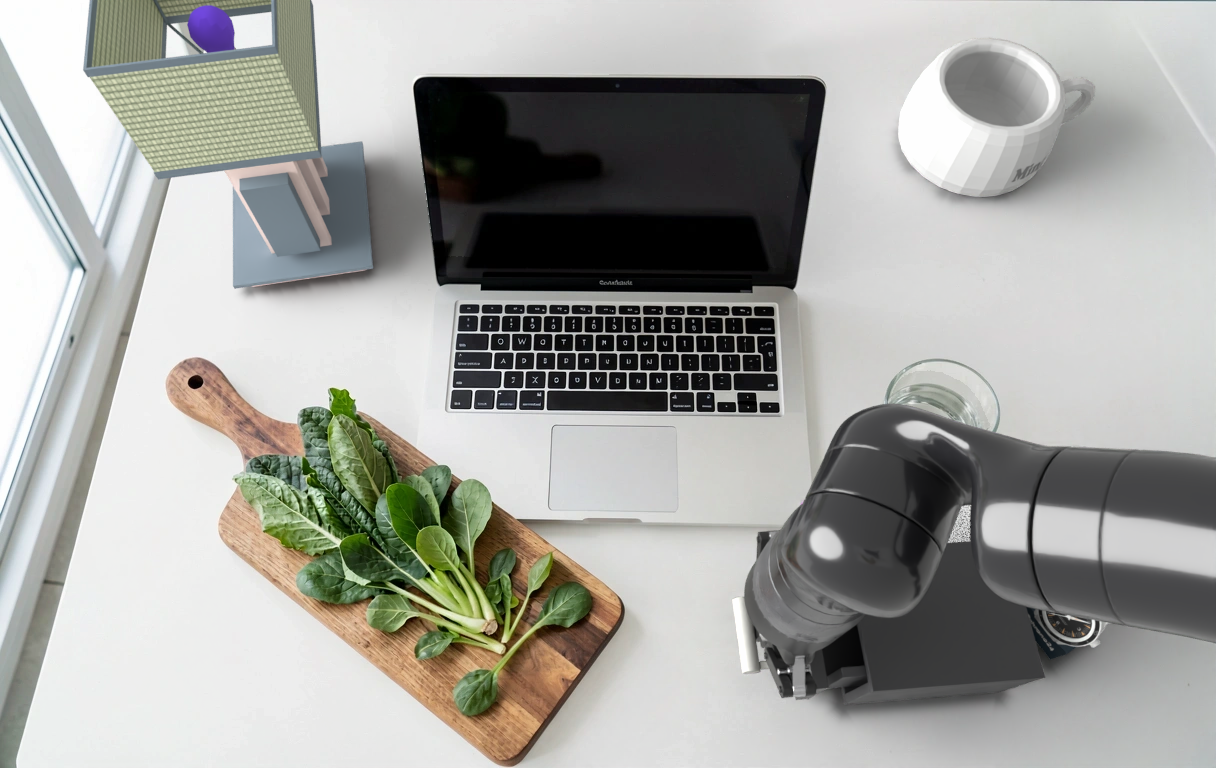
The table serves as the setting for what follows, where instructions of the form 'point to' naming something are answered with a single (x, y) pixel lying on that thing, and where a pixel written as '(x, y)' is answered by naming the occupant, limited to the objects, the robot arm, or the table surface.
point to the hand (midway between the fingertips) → (765, 631)
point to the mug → (986, 116)
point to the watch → (1063, 632)
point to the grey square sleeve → (948, 641)
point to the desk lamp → (238, 128)
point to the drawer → (830, 664)
